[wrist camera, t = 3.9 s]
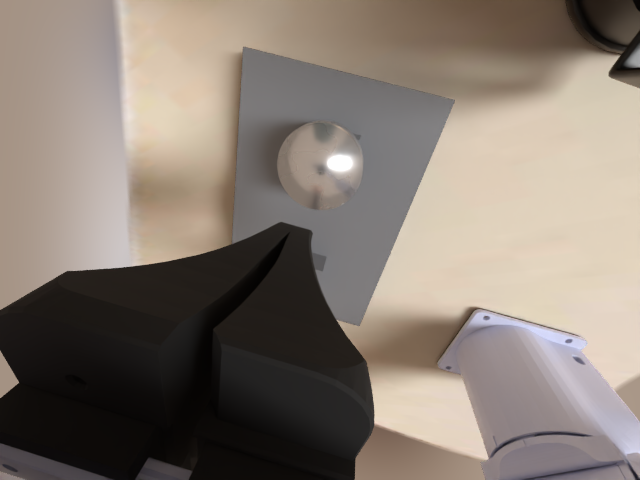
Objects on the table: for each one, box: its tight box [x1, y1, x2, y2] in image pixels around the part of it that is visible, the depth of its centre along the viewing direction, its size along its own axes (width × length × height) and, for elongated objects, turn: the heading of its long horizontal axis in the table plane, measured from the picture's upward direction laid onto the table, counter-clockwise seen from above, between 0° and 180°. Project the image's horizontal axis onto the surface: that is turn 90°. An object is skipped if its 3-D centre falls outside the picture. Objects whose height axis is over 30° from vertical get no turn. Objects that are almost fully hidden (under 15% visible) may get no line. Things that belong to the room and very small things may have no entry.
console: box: [232, 47, 455, 326], centre depth 19 cm, size 12×18×4 cm, turn 167°
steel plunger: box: [277, 120, 363, 210], centre depth 16 cm, size 4×4×6 cm
